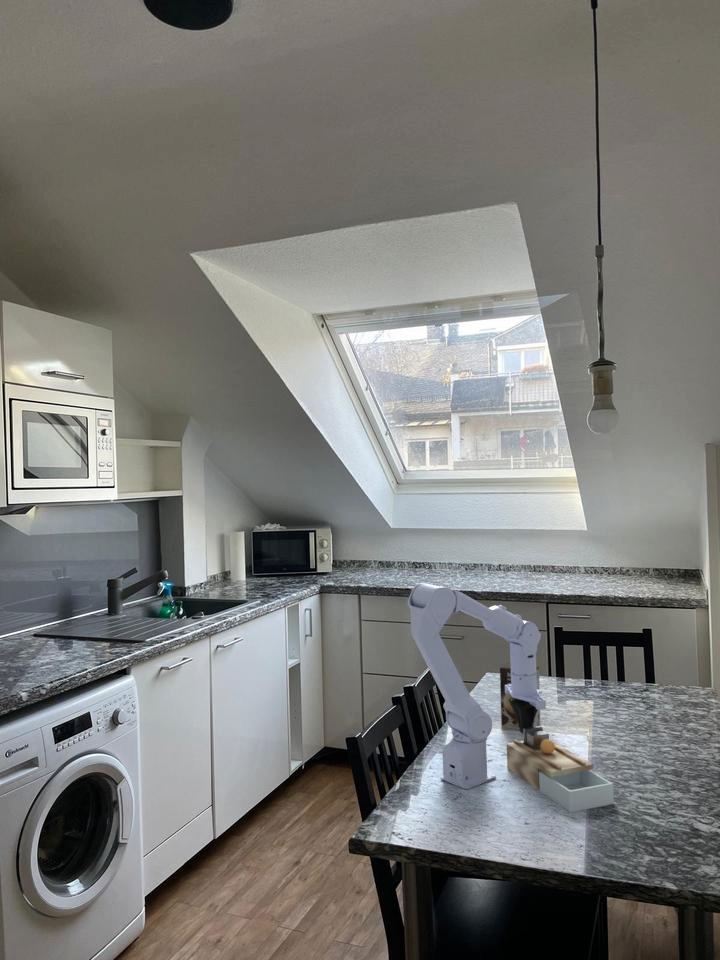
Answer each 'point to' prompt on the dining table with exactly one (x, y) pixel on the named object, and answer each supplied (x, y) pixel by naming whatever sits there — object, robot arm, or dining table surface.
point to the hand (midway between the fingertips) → (525, 732)
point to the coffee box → (507, 711)
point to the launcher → (542, 762)
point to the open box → (577, 790)
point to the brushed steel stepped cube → (534, 737)
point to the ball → (547, 746)
